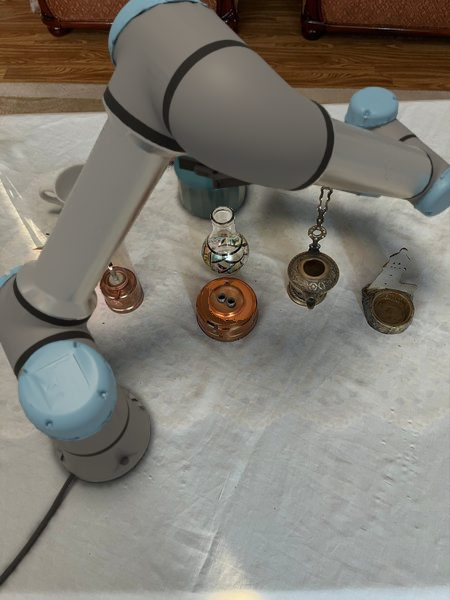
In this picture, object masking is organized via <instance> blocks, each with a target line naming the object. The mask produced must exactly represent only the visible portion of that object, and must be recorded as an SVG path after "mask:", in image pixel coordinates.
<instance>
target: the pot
mask: <svg viewBox="0 0 450 600" xmlns="http://www.w3.org/2000/svg"><path fill="white" fill-rule="evenodd" d="M176 179H177V186H178V194H179V198H180V202H181V204H182V205H183V207H184V208H185V210H187V211H188V212H189V213H190V214H192V215H193V216H196V217H198V218H201V219H207V220H211V219H210V214H211V212H212V211H213V210H214V209H215V208H217V207H219V206H227V207H230V208H232V209H233V211H234V212H233V213H235V212H236V211H238V209H239V208H240V207H241V206H242V205H243V203H244V200H245V197H246V185H245V186H237V187H231V188H229V189H226V190H223V191H219V192H200V191H196V190H193V189H190V188H188V187H187V186H185V185H184V184H183V183H181V182H180V181H179V179H178V178H177V177H176Z"/></svg>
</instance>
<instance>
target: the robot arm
mask: <svg viewBox="0 0 450 600" xmlns="http://www.w3.org/2000/svg"><path fill="white" fill-rule="evenodd" d="M107 43H108V45H107V46H108V51H109V58H110V61H111V63H112V65H113V67H114V71H113V72H112V73H113V74H112V75H111V76H110V77H111V78H110V79H109V81H108V84H107V86H106V88H105V90H104V92H103V94H102V97H101V101H102V104H103V107H104V109H105V113H106V115H107V118H106V120H105V123H104V124H103V127H102V129H101V131H100V132H99V135H98V137H97V138H96V141H95V143H94V145H93V147H92V148H91V151H90V153H89V155H88V156H87V159H86V160H85V162H84V163H85V165H84V167H83V169H82V171H81V173H80V175H79V177H78V179H77V181H76V183H75V185H74V187H73V189H72V191H71V193H70V195H69V197H68V199H67V201H66V203H65V205H64V207H63V209H61V210H60V212H59V215H58V217H57V218H56V220H55V222H54V225H53V226H52V229H51V230H50V233H49V235H48V237H47V238H46V240H45V243H44V245H43V247H42V248H41V251H40V253H39V255H38V257H37V259H33V260H29V261H27V262H25V263H24V264H21V265H18V266H15V267H13V268H12V269H10V270H9V274H8V275H7V274H6V275H5V274H3V275H1V276H0V345H1V347H2V350H3V352H4V354H5V356H6V359H7V360H8V363H9V365H10V368H11V369H12V372H13V374H14V376H15V378H16V381H17V396H18V401H19V404H20V407H21V408H22V411H23V413H24V415H25V417H26V419H27V420H28V421H29V422H30V423H31V424H32V425H33V426H34V427H35V429H36V430H38V431H39V432H40V433H42V434H44V435H45V436H46V437H48V438H49V439H50V440H51V441H52V442H53V448H54V451H55V453H56V454H55V455H56V456H57V458H58V460H59V462H60V463H61V465H62V466H63V467H64V468H65V469H66V471H68V472H69V473H70V474H69V475H68V476H67V479H66V480H65V482H64V484H63V486H62V487H61V489H60V490H59V492H58V493H57V495H56V497H55V499H54V501H53V502H52V505H51V506H50V508H49V509H48V511H47V513H46V514H45V516H44V517H43V518H42V520H41V521H40V522H39V525H38V526H37V528H36V529H35V530H34V532H33V534H32V535H31V537H30V538H29V539H28V540H27V541H26V543H25V544H24V546H23V547H22V549H21V550H20V551H19V552H18V554H17V555H16V557H14V558H13V560H12V562H11V563H9V565H8V566H7V568H6V569H5V570H4V571H3V572H2V573H1V574H0V585H1V584H2V583H3V581H4V580H6V578H7V577H8V576H9V575H10V574H11V573H12V571H13V570H14V569H15V567H16V566H17V565H18V564H19V562H20V561H21V560H22V559H23V557H24V556H25V555H26V553H27V552H28V551H29V550H30V548H31V547H32V545H33V544H34V542H35V541H36V540H37V538H38V537H39V535H40V534H41V532H42V531H43V529H44V528H45V526H46V525H47V524H48V522H49V521H50V519H51V517H52V516H53V514H54V513H55V511H56V509H57V508H58V506H59V504H60V502H61V500H62V498H63V497H64V495H65V493H66V491H67V490H68V488H69V486H70V485H71V484H72V481H73V480H74V479H75V477H76V478H78V479H80V480H83V481H85V482H89V483H90V482H91V483H106V482H110V481H115V480H117V479H119V478H121V477H124V475H126V474H127V473H129V472H130V471H131V470H133V469H134V468H135V466H137V465H138V464H139V462H140V461H141V460H142V458H143V456H144V455H145V453H146V451H147V449H148V447H149V444H150V439H151V421H150V417H149V414H148V412H147V408H146V407H145V406H144V404H143V403H142V401H141V400H140V399H139V398H138V397H137V396H136V395H135V394H133V393H132V392H131V391H129V390H128V389H125V388H123V387H121V386H120V385H119V382H118V381H117V380H116V377H115V374H114V372H113V369H112V367H111V366H110V364H109V362H108V361H107V359H105V357H104V355H103V353H102V352H101V350H100V348H99V346H98V344H97V343H96V341H95V339H94V337H93V336H92V334H91V332H90V329H89V328H88V322H89V320H90V319H91V317H92V315H93V314H94V312H95V311H96V309H97V306H98V301H99V300H98V294H97V290H96V288H97V286H98V284H99V283H100V281H101V279H102V278H103V276H104V274H105V273H106V272H107V269H108V268H109V266H110V265H111V263H112V261H113V259H114V258H115V256H116V254H117V253H118V251H119V249H120V248H121V246H122V244H123V242H124V241H125V239H126V237H127V235H128V234H129V232H130V231H131V229H132V227H133V225H134V224H135V223H136V220H137V219H138V217H139V215H140V214H141V212H142V211H143V209H144V207H145V205H146V203H147V202H148V201H149V198H150V197H151V195H152V193H153V192H154V190H155V189H156V187H157V185H158V183H159V182H160V180H161V179H162V177H163V175H164V174H165V172H166V170H167V169H168V167H169V165H170V163H171V162H172V161H171V160H172V158H173V157H177V156H179V157H178V161H179V168H180V169H184V170H188V171H192V172H195V174H196V175H198V176H203V177H207V178H210V179H212V188H213V189H221V188H229V187H237V186H245V187H246V186H252V185H256V186H260V187H265V188H268V189H273V190H279V191H280V190H281V191H288V192H299V191H304V190H306V189H308V188H310V187H313V186H318V187H322V188H327V187H329V188H328V189H331V188H332V190H336V191H339V192H344V193H348V194H352V195H356V196H357V197H368V198H374V199H379V198H381V197H387V198H392V199H393V198H394V199H399V200H402V201H407V202H409V203H410V204H411V205H412V207H413V208H414V209H415V210H417V211H418V212H420V213H421V214H422V215H424V216H425V217H427V218H428V217H430V218H432V217H435V216H438V215H440V214H442V213H444V212H445V211H446V210H448V209H449V207H450V163H449V162H448V161H446V160H445V158H443V157H441V155H439V153H437V152H436V151H434V150H433V149H432V148H431V147H430V146H428V145H427V144H426V143H425V142H423V141H422V140H421V139H420V137H418V136H417V134H415V133H414V132H413V131H412V130H411V129H410V128H409V127H408V126H406V125H405V124H403V123H402V122H401V121H400V120H399V119H398V118H397V117H398V114H399V106H400V105H399V101H398V98H397V95H395V93H394V92H392V91H391V90H389V89H387V88H384V87H380V86H367V87H364V88H362V89H359V90H357V91H356V92H354V93H353V95H352V96H351V98H350V100H349V104H348V107H347V110H346V113H345V115H344V117H343V119H344V120H343V121H342V120H339V119H336V118H333V117H332V115H331V114H330V112H329V111H328V110H327V108H326V107H325V106H324V105H322V104H321V103H320V102H318V101H316V100H313V99H310V98H308V97H305V96H304V95H303V94H301V93H300V92H299V91H298V90H296V89H294V88H293V87H292V86H291V85H290V84H289V83H288V82H287V81H285V80H284V79H283V77H281V76H280V75H279V74H278V73H277V72H276V71H275V70H274V69H273V68H272V67H271V65H269V64H268V63H267V62H266V61H265V60H264V59H263V58H262V57H261V56H260V55H259V54H258V53H257V52H256V51H254V49H252V48H251V47H250V46H249V45H248V44H247V43H246V42H245V41H244V40H243V39H242V38H241V37H240V36H239V35H238V34H237V33H236V32H235V31H234V30H233V29H232V28H230V26H229V25H227V23H226V22H225V21H223V20H222V19H221V17H219V16H218V14H217V13H216V11H215V10H213V9H211V8H210V7H209V6H208V5H207V3H205V2H202V1H201V0H129V1H128V2H127V3H126V4H125V5H124V6H123V7H122V8H121V9H120V10H119V12H118V13H117V15H116V16H115V18H114V20H113V22H112V24H111V27H110V30H109V34H108V42H107ZM188 154H189V155H191V156H192V157H193V158H192V157H187V156H183V155H188ZM218 172H220V173H218Z"/></svg>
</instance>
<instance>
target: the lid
mask: <svg viewBox="0 0 450 600" xmlns="http://www.w3.org/2000/svg"><path fill="white" fill-rule="evenodd" d="M183 156H187V157H192V156H191V155H189V154H188V155H183ZM178 157H179V156H177V157H175V159H174V161H173V171H174V173H175V176H176V179H177V178H178V179H179V181H180V182H181V183H183V184H184V185H185V186H187V187H188V188H190V189H193V190H196V191H200V192H219V191H223V190H226V189H229V188H231V187H229V188H221V189H213V188H212V179H210V178H207V177H203V176H198V175H196V174H195V172H192V171H188V170H184V169H180V168H179V161H178ZM192 158H193V157H192ZM218 173H220V172H218Z"/></svg>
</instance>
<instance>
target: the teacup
mask: <svg viewBox="0 0 450 600" xmlns="http://www.w3.org/2000/svg"><path fill="white" fill-rule="evenodd" d="M85 163H86V162H77V163H73V164H70V165H68V166H66V167H64V168H63V169H62V170H59V173H57V175H56V176H55V178H54V180H53V184H42V185H41V186H40V187H39V189H38V195H39V197H40V198H41V199H42V201H45V202H47V203H49V204H52V205H53V204H54V205H58V206H59V207H61V208H62V209H63V207H64V205H65V203H66V201H67V199H68V197H69V195H70V193H71V191H72V189H73V187H74V185H75V183H76V181H77V179H78V177H79V175H80V173H81V171H82V169H83V167H84V165H85ZM46 192H50V193H52V194H53V195H54V196H52V195H49V194H47V193H46ZM62 209H61V210H62Z"/></svg>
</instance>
